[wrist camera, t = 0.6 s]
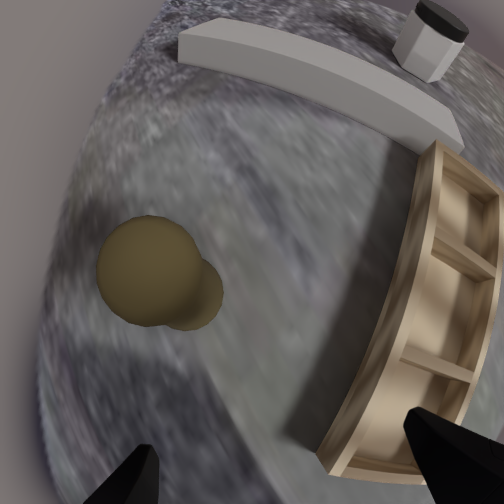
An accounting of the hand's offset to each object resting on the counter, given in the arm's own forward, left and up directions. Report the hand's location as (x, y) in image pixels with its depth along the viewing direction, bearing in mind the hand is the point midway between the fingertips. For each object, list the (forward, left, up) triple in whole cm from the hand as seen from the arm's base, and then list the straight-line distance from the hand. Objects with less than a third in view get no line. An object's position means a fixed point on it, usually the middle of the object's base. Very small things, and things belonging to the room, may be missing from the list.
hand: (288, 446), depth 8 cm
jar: (+44, -17, -13) cm, 49 cm away
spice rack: (+7, -15, -13) cm, 21 cm away
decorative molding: (+32, -2, -14) cm, 35 cm away
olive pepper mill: (+5, +7, -13) cm, 16 cm away
